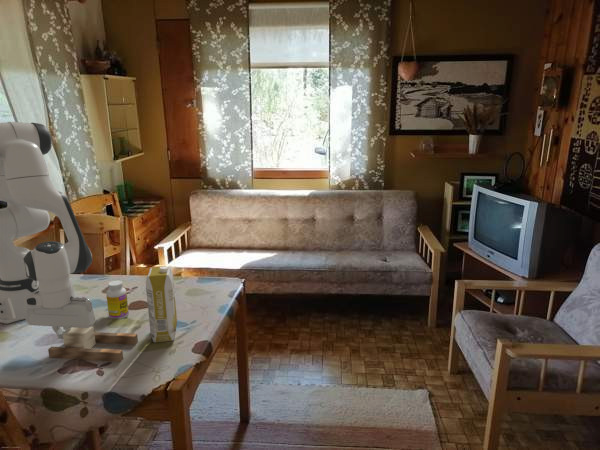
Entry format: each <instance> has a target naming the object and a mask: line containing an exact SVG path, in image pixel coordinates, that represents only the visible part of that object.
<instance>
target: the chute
mask: <svg viewBox="0 0 600 450" xmlns="http://www.w3.org/2000/svg"><path fill="white" fill-rule="evenodd" d="M94 334H95V342H96V344H114V345H115V344H116V345H132V346H133V345H135V346H136V345H137V344H138V343H139V338H138V333H132V332H117V333H116V332H103V331H102V332H100V331H94ZM47 352H48V357H49V359H67V360H80V361H81V360H82V361H97V362H98V361H100V362H116V363H117V362H119V363H121V362H123V360H124V352H123V349H114V348H101V349H100V348H91V349H87V348H69V347H65V346H50V347H49V348H48V349H47Z"/></svg>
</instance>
